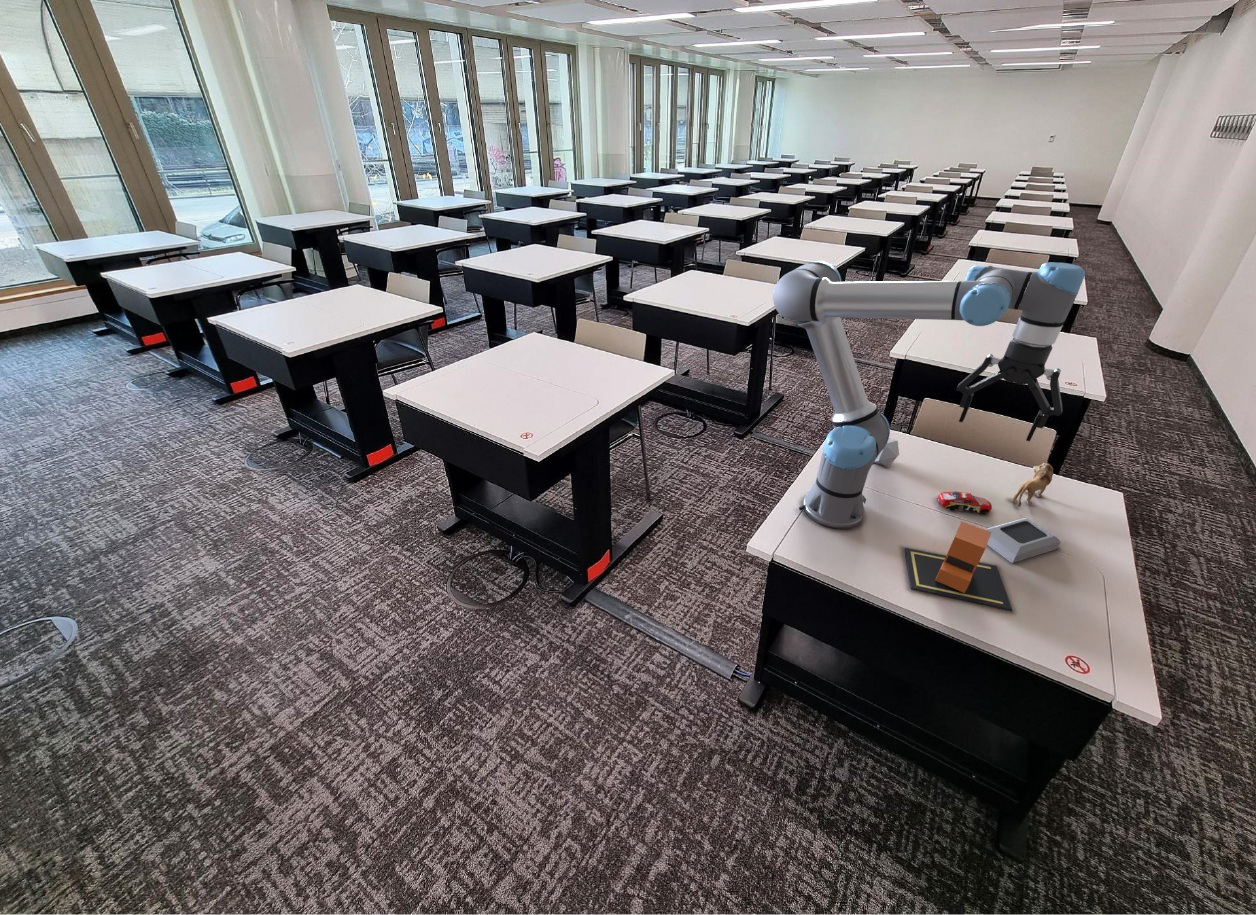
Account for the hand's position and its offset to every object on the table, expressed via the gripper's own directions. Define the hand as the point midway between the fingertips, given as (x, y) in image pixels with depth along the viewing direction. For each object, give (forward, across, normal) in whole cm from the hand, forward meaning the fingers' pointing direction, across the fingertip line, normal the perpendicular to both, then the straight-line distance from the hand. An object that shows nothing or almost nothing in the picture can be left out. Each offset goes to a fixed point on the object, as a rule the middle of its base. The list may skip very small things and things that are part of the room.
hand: (994, 429), depth 123 cm
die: (+29, +24, -18) cm, 42 cm away
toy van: (+28, -4, +21) cm, 36 cm away
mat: (+29, -5, +21) cm, 36 cm away
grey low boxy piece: (+29, -14, -2) cm, 32 cm away
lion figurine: (+29, -13, -26) cm, 41 cm away
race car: (+29, 0, -10) cm, 31 cm away
